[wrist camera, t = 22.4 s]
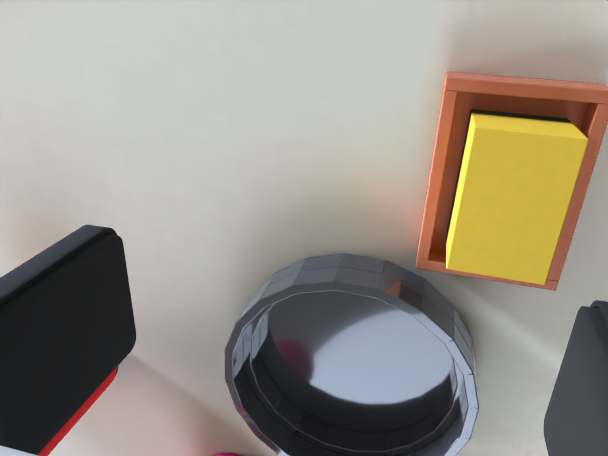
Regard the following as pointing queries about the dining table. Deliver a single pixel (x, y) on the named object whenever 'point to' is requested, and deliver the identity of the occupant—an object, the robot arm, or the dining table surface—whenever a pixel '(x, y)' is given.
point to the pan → (353, 362)
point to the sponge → (512, 194)
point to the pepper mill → (226, 455)
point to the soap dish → (512, 99)
